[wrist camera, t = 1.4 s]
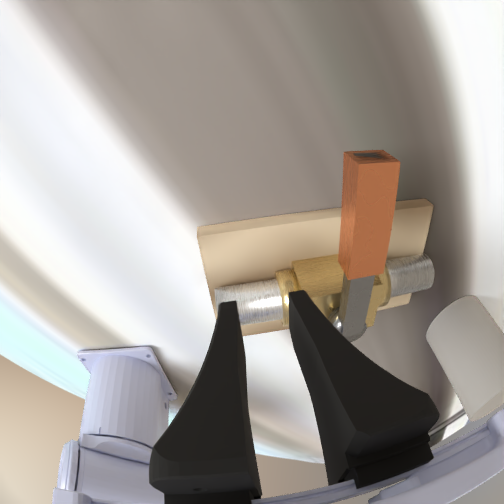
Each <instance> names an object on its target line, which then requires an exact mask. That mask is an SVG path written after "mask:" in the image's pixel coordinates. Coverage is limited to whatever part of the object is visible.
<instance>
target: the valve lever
mask: <svg viewBox="0 0 504 504" xmlns="http://www.w3.org/2000/svg"><path fill="white" fill-rule="evenodd" d="M399 170H400V161H398V160H397V159H395V158H394V157H393V156H391V155H390V154H388V153H387V152H385V151H384V150H368V151H349V152H344V163H343V190H342V210H341V226H340V240H339V252H338V262H339V264H340V266H341V268H342V270H343V271H344V276H343V284H342V292H341V300H340V306H339V307H337V308H336V309H334V310H333V311H332V312H331V313H330V315H329V317H328V320H329V321H330V322H331V323H332V324H333V326H334V327H335V328H336V329H337V330H338V331H339V332H340V333H341V334H342V335H343V336H344V337H345V338H346V339H347V340H348V341H349V342H353V341H355V340H357V339H358V338H360V337H361V336H362V335H363V334H364V333H365V331H366V329H367V324H366V322H365V321H366V316H367V312H368V308H369V303H370V298H371V294H372V289H373V284H374V279H375V275H378V274H383V273H384V268H385V263H386V258H387V252H388V247H389V241H390V236H391V230H392V223H393V217H394V210H395V203H396V196H397V188H398V179H399Z"/></svg>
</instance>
